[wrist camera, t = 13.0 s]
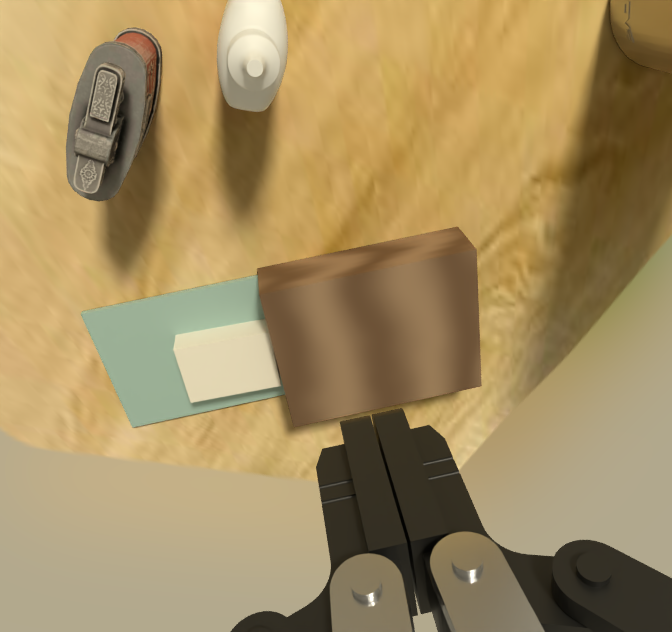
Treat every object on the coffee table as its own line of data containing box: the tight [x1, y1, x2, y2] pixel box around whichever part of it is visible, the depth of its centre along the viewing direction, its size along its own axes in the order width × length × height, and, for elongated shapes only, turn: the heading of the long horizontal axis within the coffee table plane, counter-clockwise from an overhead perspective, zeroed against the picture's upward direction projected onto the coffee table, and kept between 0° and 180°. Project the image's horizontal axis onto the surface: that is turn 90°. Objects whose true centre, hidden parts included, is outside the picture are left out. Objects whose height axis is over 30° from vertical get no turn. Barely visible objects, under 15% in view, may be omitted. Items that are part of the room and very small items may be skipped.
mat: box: [81, 275, 285, 427], centre depth 46 cm, size 13×11×1 cm
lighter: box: [66, 27, 162, 201], centre depth 32 cm, size 8×3×10 cm, turn 158°
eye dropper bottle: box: [217, 0, 288, 112], centre depth 30 cm, size 4×6×12 cm
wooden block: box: [257, 227, 481, 427], centre depth 45 cm, size 15×12×4 cm
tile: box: [173, 319, 281, 403], centre depth 45 cm, size 7×5×2 cm
